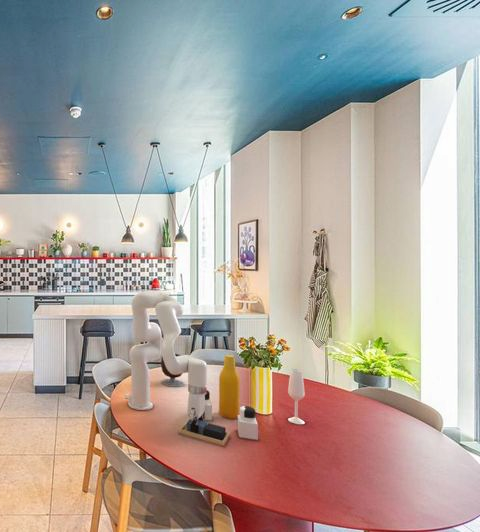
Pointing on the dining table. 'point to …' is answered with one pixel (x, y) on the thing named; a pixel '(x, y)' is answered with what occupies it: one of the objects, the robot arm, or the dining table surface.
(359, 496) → the dining table surface
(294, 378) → the champagne flute
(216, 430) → the pad
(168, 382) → the mate gourd
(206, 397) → the container
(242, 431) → the medicine bottle
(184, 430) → the wooden tray
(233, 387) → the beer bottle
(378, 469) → the dining table surface
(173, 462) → the dining table surface
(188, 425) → the blue block
